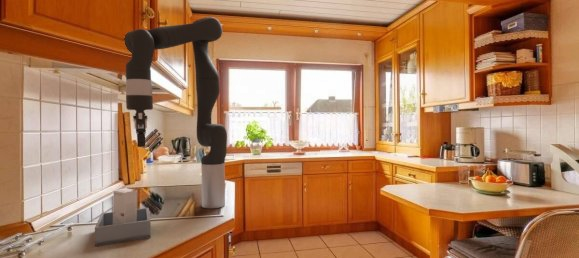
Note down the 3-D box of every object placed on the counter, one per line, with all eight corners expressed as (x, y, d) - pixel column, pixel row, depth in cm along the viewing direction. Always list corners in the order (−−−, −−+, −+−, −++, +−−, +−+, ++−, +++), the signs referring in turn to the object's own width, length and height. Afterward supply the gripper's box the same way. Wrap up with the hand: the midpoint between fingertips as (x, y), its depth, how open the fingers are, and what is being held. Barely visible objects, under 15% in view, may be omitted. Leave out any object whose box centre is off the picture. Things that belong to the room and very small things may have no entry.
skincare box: (111, 230, 90) (111, 190, 90) (126, 226, 93) (126, 187, 93) (123, 234, 86) (123, 192, 86) (138, 229, 90) (137, 189, 90)
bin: (101, 229, 94) (101, 213, 94) (148, 222, 100) (148, 207, 100) (95, 246, 80) (94, 227, 80) (150, 237, 86) (150, 220, 86)
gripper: (153, 93, 89) (155, 146, 90) (151, 96, 102) (153, 143, 103) (124, 92, 86) (127, 148, 86) (126, 96, 99) (128, 145, 99)
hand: (141, 145), depth 95 cm, fingers open, 8 cm apart
